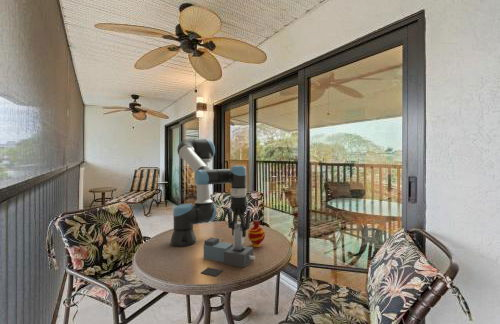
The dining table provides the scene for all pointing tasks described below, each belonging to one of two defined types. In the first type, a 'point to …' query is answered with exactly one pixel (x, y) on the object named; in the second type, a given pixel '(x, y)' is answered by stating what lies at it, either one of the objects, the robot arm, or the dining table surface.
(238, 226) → the gray block with peg
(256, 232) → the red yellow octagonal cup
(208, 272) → the mat
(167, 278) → the dining table surface
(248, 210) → the robot arm
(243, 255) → the block with square socket
